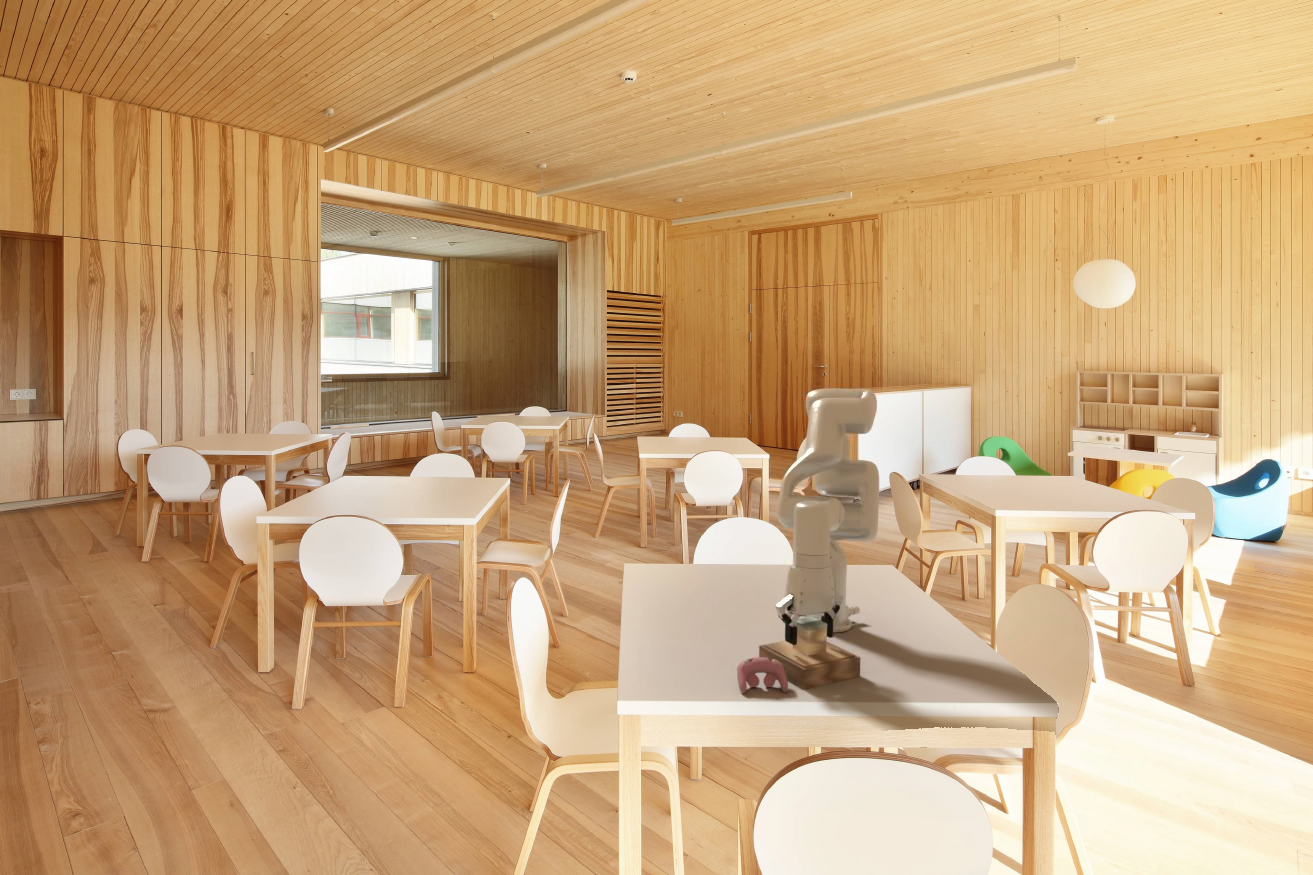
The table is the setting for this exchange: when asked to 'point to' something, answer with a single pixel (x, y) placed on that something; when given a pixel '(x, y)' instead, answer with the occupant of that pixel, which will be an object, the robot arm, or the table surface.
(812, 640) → the maple block
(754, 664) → the video game controller
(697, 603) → the table surface
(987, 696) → the table surface
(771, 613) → the table surface
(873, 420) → the robot arm
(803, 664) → the walnut plinth
